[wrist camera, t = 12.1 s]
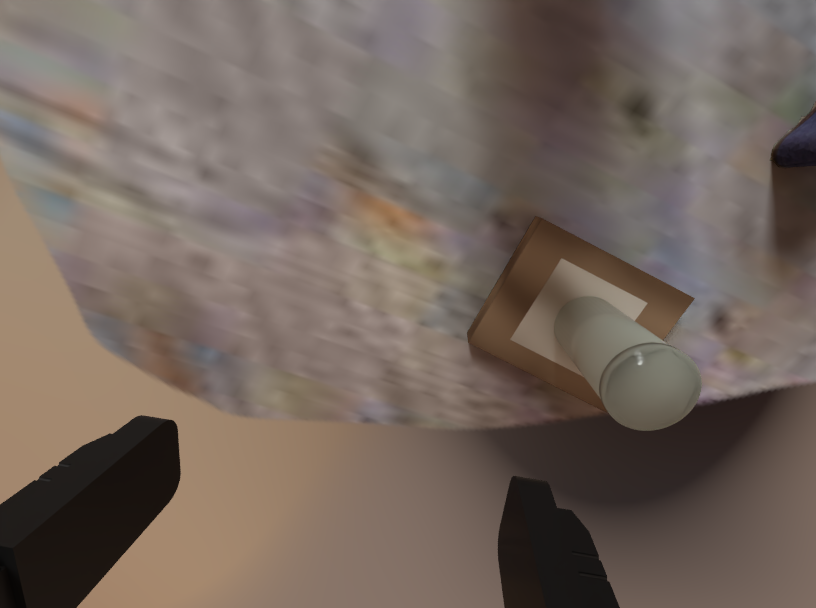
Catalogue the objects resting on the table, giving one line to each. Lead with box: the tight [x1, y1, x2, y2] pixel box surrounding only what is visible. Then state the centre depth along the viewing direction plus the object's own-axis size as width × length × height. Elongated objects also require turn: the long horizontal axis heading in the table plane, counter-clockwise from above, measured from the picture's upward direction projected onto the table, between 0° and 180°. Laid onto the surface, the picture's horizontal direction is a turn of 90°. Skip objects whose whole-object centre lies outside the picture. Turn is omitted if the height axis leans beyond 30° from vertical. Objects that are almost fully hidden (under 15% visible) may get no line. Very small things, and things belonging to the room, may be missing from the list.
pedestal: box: [467, 216, 695, 412], centre depth 35 cm, size 12×14×3 cm
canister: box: [554, 296, 702, 431], centre depth 28 cm, size 5×5×11 cm
